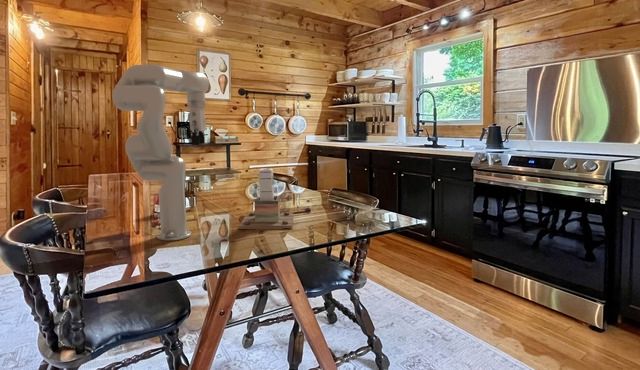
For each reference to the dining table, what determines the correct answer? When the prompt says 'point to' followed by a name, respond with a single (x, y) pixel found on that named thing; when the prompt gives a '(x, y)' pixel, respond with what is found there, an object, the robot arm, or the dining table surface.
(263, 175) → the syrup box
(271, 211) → the metal block on plate
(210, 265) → the dining table surface
